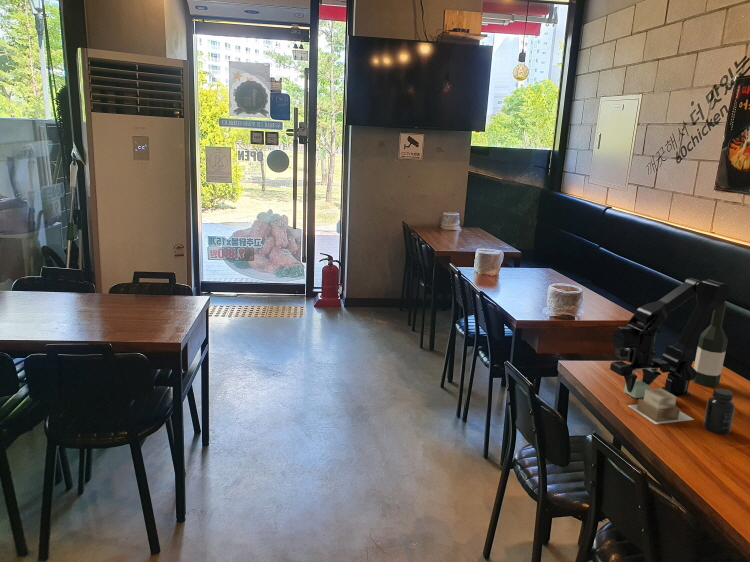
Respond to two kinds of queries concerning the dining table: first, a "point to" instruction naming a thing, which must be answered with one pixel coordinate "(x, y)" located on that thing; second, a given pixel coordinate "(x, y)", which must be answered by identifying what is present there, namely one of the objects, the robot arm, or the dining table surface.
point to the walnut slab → (657, 412)
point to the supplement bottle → (719, 412)
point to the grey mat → (681, 418)
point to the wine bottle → (711, 351)
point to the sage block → (637, 389)
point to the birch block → (660, 398)
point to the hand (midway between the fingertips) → (636, 391)
